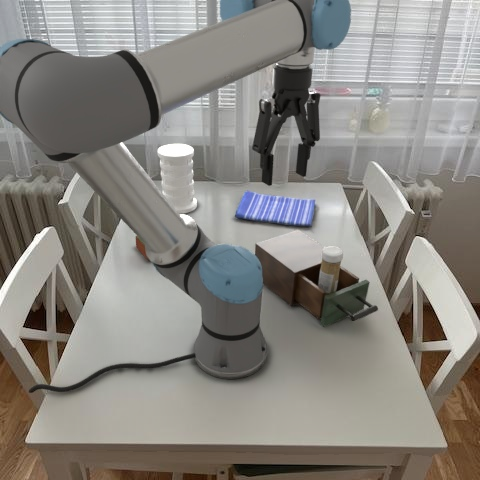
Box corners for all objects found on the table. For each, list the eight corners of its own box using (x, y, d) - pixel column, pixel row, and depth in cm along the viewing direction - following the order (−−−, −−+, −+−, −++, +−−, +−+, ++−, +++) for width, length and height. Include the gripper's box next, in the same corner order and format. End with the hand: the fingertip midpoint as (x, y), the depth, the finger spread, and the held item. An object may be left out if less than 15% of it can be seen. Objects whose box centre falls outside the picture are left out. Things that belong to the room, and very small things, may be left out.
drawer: (382, 322, 111) (389, 294, 106) (341, 342, 106) (347, 313, 101) (322, 280, 124) (326, 253, 119) (284, 295, 119) (286, 268, 114)
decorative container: (186, 195, 164) (184, 141, 153) (203, 208, 156) (202, 152, 145) (155, 202, 159) (149, 147, 148) (170, 217, 151) (166, 159, 140)
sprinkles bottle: (338, 301, 115) (347, 252, 107) (324, 307, 113) (332, 257, 105) (326, 291, 118) (333, 243, 110) (311, 297, 116) (318, 248, 108)
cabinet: (333, 289, 123) (339, 256, 117) (291, 306, 117) (294, 272, 111) (295, 261, 133) (298, 229, 127) (253, 275, 127) (255, 243, 121)
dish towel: (244, 196, 164) (245, 188, 162) (315, 204, 160) (316, 196, 158) (233, 220, 151) (233, 211, 149) (310, 229, 147) (311, 220, 145)
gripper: (258, 75, 86) (253, 196, 100) (348, 62, 95) (332, 174, 109) (235, 66, 91) (233, 183, 105) (322, 55, 100) (310, 163, 114)
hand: (284, 178), depth 107 cm, fingers open, 9 cm apart
